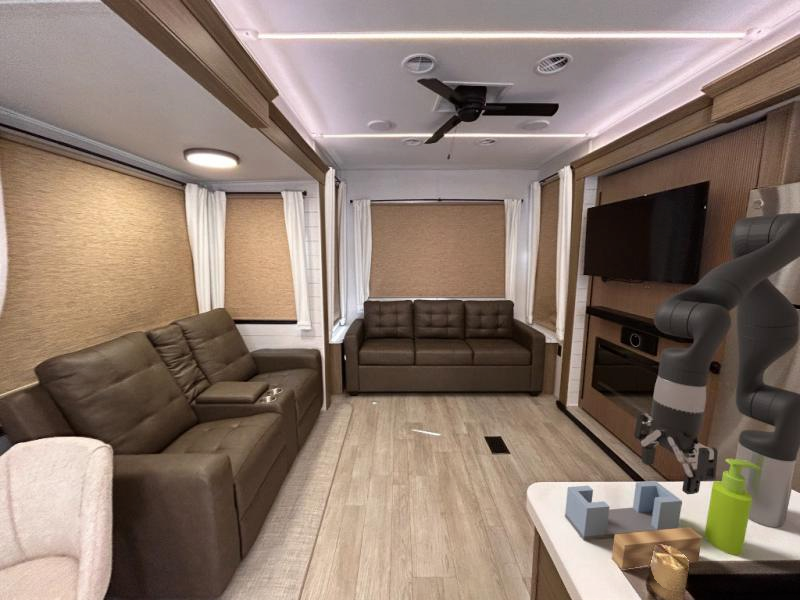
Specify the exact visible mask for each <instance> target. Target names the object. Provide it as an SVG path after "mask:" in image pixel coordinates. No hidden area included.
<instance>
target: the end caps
mask: <svg viewBox="0 0 800 600" xmlns="http://www.w3.org/2000/svg"><path fill="white" fill-rule="evenodd" d="M593 496H594V490H593V488H591V486H590V485H576V486H568V487H567V493H566V502H565V512H564V518H565V519H566V521H568V522H569V524H570V525H571V526H572V527H573V529H574V530H575V531H576V533H577V535H579V537H580V538H581V539H582V540H583V541H592V540H603V539H612V538H613V539H614V536H615V534H623V533H633V532H644V531H654V530H664V529H675V528H679V525H680V519H681V517H680V516H681V512H682V511H681V510H682V504H683V500H682V499H681V498H679V497H678V496H677V495H675V494H674V493H673V492H671V491H670V490H668V489H667V488H666V487H664V486H663V485H662V484H661V483H659V482H658V481H656V480H652V481H651V480H649V481H636V482H635V489H634V497H633V504H632V507H621V508H611V509H610V505H609V504H608V503H607V502H606V501H605V500H604V501H594V502H593Z"/></svg>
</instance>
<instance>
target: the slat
mask: <svg viewBox="0 0 800 600" xmlns="http://www.w3.org/2000/svg"><path fill="white" fill-rule="evenodd" d="M702 541H703V537H702V536H701V535H700V534H699V533H697V531H695V530H694V529H693V528H691V527H690V526H688V527H687V526H686V527H678V528H675V529H664V530H654V531H644V532H633V533H623V534H615V536H614V538H613V546H612V555H611V560H612V561H613V562H614V564H615V565H616V566H617V565H618V566H619V567H620V568H621V569H622V570H621V569H620V568H619V567H618V566H617V567H618V568H619V569H620V570H621V571H624V570H623V569H628V568H635V567H640V566H644V565H648V566H650V564H651V560H652V556H653V551H654V547H655V545H658V544H663V545H667V546H671V547H673V548H675V549H677V550H678V551H680V552H681V553H682V554H684V555H685V556H686V557H687V559H688V560H689V563H688V564H691V563H693V564H694V563H698V562H699V560H700V559H699V558H700V554H701V553H700V551H701V549H702Z"/></svg>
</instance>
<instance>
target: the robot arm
mask: <svg viewBox="0 0 800 600" xmlns="http://www.w3.org/2000/svg"><path fill="white" fill-rule="evenodd" d="M730 251H731V260H729V261H727V262H726V261H725V262H724V263H722V264H719V265H718V266H716V267H714V268H712V269H711V270H710V271H709V272H708V273H706V274H705V275H704V276H703V277H702V278H701V279H700V280H698V282H697V283H696V284H695V285H694V286H692V287H689V288H687V289H684V290H683V291H680V292H678V293H676V294H674V295H671V296H670V297H668V298H667V299H665V300H663V302H661V303H660V304H659V306H658V307H657V308H656V310H655V312H654V315H653V323H654V326H655V328H657V330H659V332H661V333H662V334H663V333H664V334H666V335H668V336H669V335H670V336H675V337H680V338H685V339H690V340H693V343H692V345H690V346H689V348H686V347H685V348H684V347H668V348H667V347H666V348H665V349H663V350H662V352H661V354H660V358H659V364H658V365H659V366H658V373H657V377H656V382H655V384H654V388H653V389H654V390H653V398H652V405H651V410H650V411H651V412H650V413H638V414H637V419H636V423H635V428H634V433H633V437H634V438H635V439H636V440H639V442H640V444H641V447H642V448H641V456H640V458H641V462H642V463H643V464H644V465H646V466H651V465H653V464H654V463H655V458H656V452H657V451H656V450H657V448H656V447H655V446H657V445H659V446H660V447H661V448H664V449H667V451H669V452H670V453H671V454H673V455H675V457H676V460H677V461H678V462H679V463H680V464H681V465H682V468H683V469H684V472H685V473H684V476H683V483H682V488H681V489H682V490H681V491H682V492H683V493H685V494H686V495H694V494H698V493H699V491H700V486H701V482H702V481H703V482H704V481H714V480H715V481H716V477H717V465H718V455H719V452H718V450H717V448H715V447H713V446H706V445H703V444H702V443H700V441H699V438H698V436H699V434H700V433H701V431H702V429H703V420H704V416H705V408H706V401H707V383H708V378H709V371H710V366H711V363H712V361H713V358H714V357H715V355H716V353H717V350H718V349H719V347H720V345H722V343H723V341H724V339H725V337H726V336H727V334H728V333H729V331H730V329H731V326H732V317H731V315H730V311H732V310H733V309H734V308H735V307H736V330H737V331H736V332H737V333H736V334H737V343H738V344H737V346H738V368H737V369H738V370H737V380H736V389H735V404H736V408H737V410H738V412H739V413H740V414H741V415H743V416H745V417H747V418H749V419H753V420H755V421H758V422H762V423H764V424H766V425H770V426H773V427H775V428H774V431H764V430H763V431H762V430H757V429H756V430H755V429H746V430H742V431H740V433H739V437H738V442H737V448H736V455H735V459H739V460H745V461H749V462H752V463H754V464H756V465H757V466H759V467H760V468H762V470H757V469H753V468H746V467H742V470H741V476H743V477H744V478H745V479H746V482H745V488H744V490H745V491H746V492H748V493H749V494H750V495H751V497H752V501H751V507H750V512H749V518H748V520H750V521H752V522H755V523H757V524H761V525H763V526H767V527H771V528H781V527H783V525H784V522H785V521H786V519H787V514H788V509H789V506H790V505H789V504H790V499H791V494H792V489H793V487H792V482H793V477H794V476H793V475H794V471H795V467H796V461H797V456H798V452H799V450H800V393H798V392H795V391H791V390H787V389H784V388H780V387H777V386H773V385H769V384H765V382H764V375H765V371H766V370H767V369H768V368H769V367H770V366H771V365H772V364H773V363H775V362H776V361H777V360H779V359H780V358H782V357H784V355H786V354H787V353H788V352H790V351H791V350H792V349H794V347H795V346H796V345H797V344H798V341H799V331H800V330H799V325H800V321H799V320H800V319H799V318H800V317H799V312H798V310H797V309H796V307H795V305H794V304H793V303H792V302H791V301H790V300H789V299H788V298H787V297H786V296H785V294H783V293H782V291H780V290H779V288H777V287H776V286H775V285H774V284H773V283H772V282H771V281H770V279H769V277H770V276H772V275H774V274H775V273H777V272H779V271H780V270H781V269H782V270H783V268H785V267H786V266H788V265H789V264H791V263H792V262H794V261H795V260H797V259H799V258H800V212H792V213H791V212H789V213H779V214H769V215H759V216H751V217H749V216H748V217H745V218H740V219H739V220H737V221H736V222H735V224H734V225H733V227H732V229H731V234H730ZM651 429H652V433H651ZM687 454H688V455H689V456H688V457H686V456H685V455H687Z"/></svg>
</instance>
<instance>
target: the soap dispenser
mask: <svg viewBox="0 0 800 600" xmlns="http://www.w3.org/2000/svg"><path fill="white" fill-rule="evenodd" d="M725 463H727V464H729V469H728V470H723V472H722V477H721V480H715V481H713V483H712V486H711V493H710V500H709V506H708V511H707V515H706V516H707V517H706V524H705V529H704V537H705V539H706V541H708V542H709V543H710V545H712V546H713V547H715V548H717V549H718V550H720V551H721V552H724V553H727V554H729V555H733V556H741V555H742V554H743V550H744V549H743V548H744V544H745V539H746V538H745V537H746V533H747V528H748V522H749V519H748V518H749V512H750V507H751V501H752V497H751V495H750V494H749V493H748V492H746V491H745V490H744V488H745V482H746V479H745V478H744V477H743V476H741V470H742V467H746V468H753V469H757V470H762V468H760V467H759V466H757V465H756V464H754V463H752V462H749V461H745V460H739V459H736V458H725Z"/></svg>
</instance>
